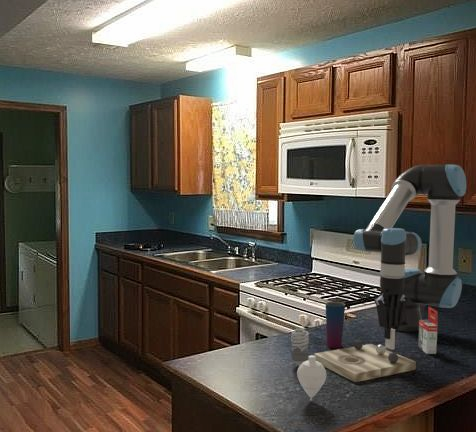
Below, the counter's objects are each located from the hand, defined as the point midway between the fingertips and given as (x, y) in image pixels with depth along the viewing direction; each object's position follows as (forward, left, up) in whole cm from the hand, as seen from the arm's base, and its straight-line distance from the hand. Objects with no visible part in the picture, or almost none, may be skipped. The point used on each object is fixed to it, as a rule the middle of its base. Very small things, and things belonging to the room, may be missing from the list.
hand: (389, 348), depth 173 cm
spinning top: (+42, +15, -4) cm, 45 cm away
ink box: (-19, -2, -4) cm, 20 cm away
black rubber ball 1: (+7, -8, 0) cm, 10 cm away
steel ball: (+4, 0, 0) cm, 4 cm away
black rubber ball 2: (+6, +7, 0) cm, 9 cm away
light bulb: (+30, -8, -4) cm, 31 cm away
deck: (+11, 0, -4) cm, 11 cm away
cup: (+7, -20, -4) cm, 22 cm away
